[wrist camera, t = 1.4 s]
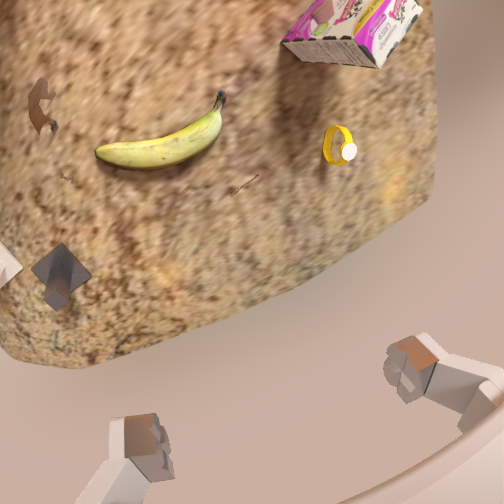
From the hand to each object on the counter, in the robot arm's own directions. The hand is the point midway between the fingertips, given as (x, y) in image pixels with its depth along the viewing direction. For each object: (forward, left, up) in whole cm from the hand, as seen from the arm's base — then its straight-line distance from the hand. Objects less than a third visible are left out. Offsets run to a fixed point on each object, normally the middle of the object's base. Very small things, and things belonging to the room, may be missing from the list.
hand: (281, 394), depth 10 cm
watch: (+13, +23, -37) cm, 45 cm away
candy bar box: (-5, +27, -37) cm, 46 cm away
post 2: (+8, -22, -37) cm, 44 cm away
